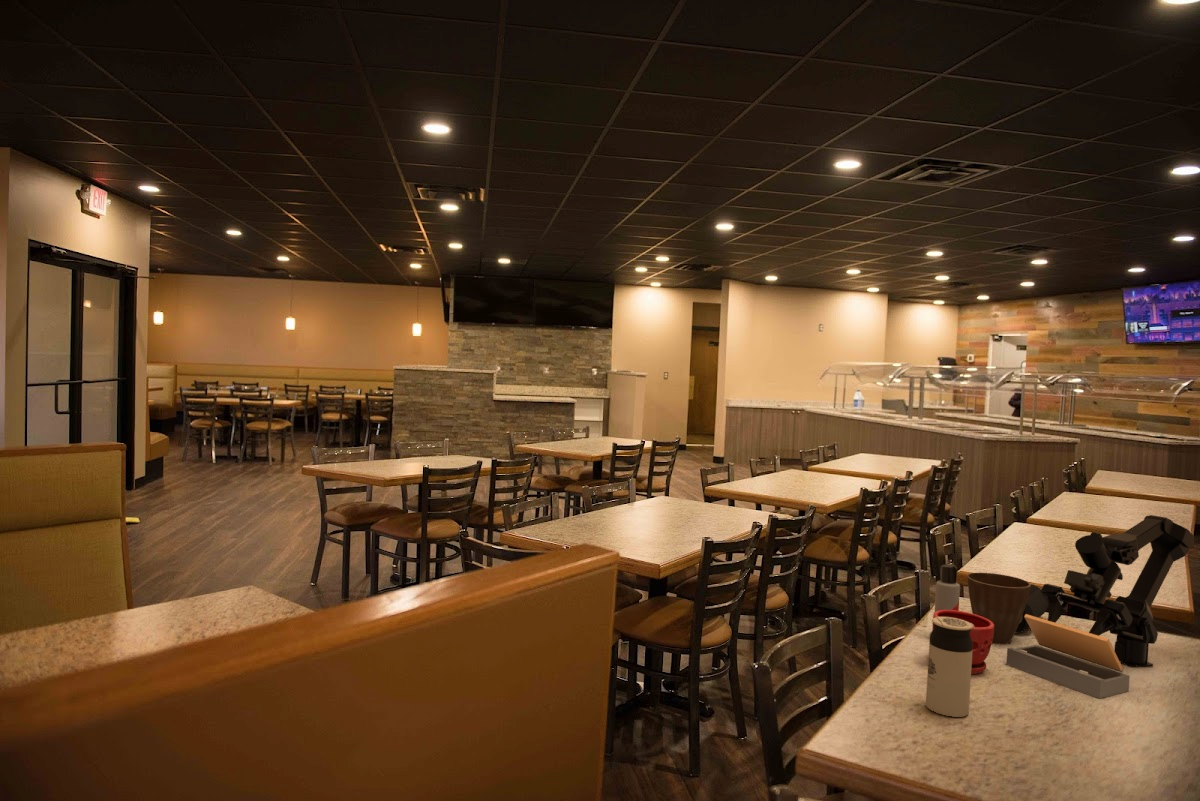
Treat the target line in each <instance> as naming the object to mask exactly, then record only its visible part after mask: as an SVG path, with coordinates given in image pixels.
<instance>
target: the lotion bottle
mask: <svg viewBox="0 0 1200 801" xmlns="http://www.w3.org/2000/svg"><path fill="white" fill-rule="evenodd" d="M957 576H958V567H957V566H956V564H952V563H944V564H942V565H941V566H940V580H937V581H936V584H935V597H934V598H935V599H934V600H935V601H934V612H933V614H934V613H935V612H936V611H939V610H956V611H960V610H959V608H960V594H961V593H960V592H961V585H960V583H958V582H957Z"/></svg>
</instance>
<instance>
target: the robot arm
mask: <svg viewBox="0 0 1200 801" xmlns="http://www.w3.org/2000/svg"><path fill="white" fill-rule="evenodd" d="M1148 544H1150V547H1151V553H1150V554H1149V557H1148V558H1147V561H1146V563H1145V564H1144V566H1143V568H1142V570H1141V572H1140V574H1139V576H1138V577H1137V579H1136V581H1135V583H1134V585H1133V587H1132V589H1131V591H1130V593H1129V594H1128V595H1127V596H1122V595H1119V596H1117V597H1116V599H1115V600H1113V599H1110V598H1111V597H1112V596H1113V595H1112V592H1111V590H1112V588H1113V587H1114V585H1115V582H1117V580H1119V581H1123V579H1124V578H1123V577H1124V576H1123V573H1122V568H1120V566H1119V564H1121V565H1125V566H1130V565H1132V564H1134V562H1135V561H1136V560H1137V559H1139V556H1140V555H1139V552H1140V550H1141V549H1142V548H1144V547H1146V546H1147V545H1148ZM1194 544H1195V536H1194V534H1192V532H1191V531H1190V530H1189V529H1188V528H1186V527H1184V526H1182V525H1180V524H1178V523H1176V522H1174V521H1173V520H1172V519H1170V518H1169V517H1164V516H1161V515H1160V516H1159V515H1153V514H1149V515H1146V516H1145V517H1144V518H1143V520H1141V521H1140V522H1138V523H1137V524H1135V525H1134V526H1132V527H1130V528H1129V529H1127V530H1126V531H1124V532H1122V533H1118V534H1117V533H1115V534H1114V533H1113V534H1109V535H1105V536H1103V535H1102V533H1101V532H1095V531H1091V533H1090V534H1088V535H1084V536H1081V537H1080V538H1079V539H1077V540H1075V543H1074V547H1075V549H1076V551H1077V553H1078V554H1079V556H1080V558H1081V560H1082V562H1083V563H1084V565H1085V566H1086V567H1087V568H1089V569H1088V570H1087V572H1086V573H1083V572H1078V571H1075V570H1069V569H1067V571H1066V572H1067V573H1066V575H1065V578H1064V582H1063V583H1064V584H1065V585H1068V586H1069V587H1070V588H1069V590H1070V592H1071V593H1073V595H1071V594H1067V593H1066V592H1065V590H1064V588H1063V587H1062V586H1058V585H1054V584H1051V583H1044V584H1043V585H1042V587H1041V588H1040V589H1041V590H1040V592H1041V593H1042V595H1043V596H1044V598H1045V600H1046V601H1047V603H1048V614H1047V615H1048V616H1047V621H1051V622H1054V623H1057V622H1058V620H1060V619H1061V617H1062V616H1063V614H1064V613H1065V612H1066V610H1065V608H1066V607H1067V606H1068V605H1073V606H1077V607H1080V608H1083V609H1087V610H1091V611H1095V612H1098V617H1097V618H1096V620H1095V622H1094V623H1093V625H1092V626H1091V627H1090V630H1089V632H1088V633H1091V634H1094V635H1098V636H1101V635H1103V634H1106V633H1107V632H1109V633H1110V635H1111V634H1112V635H1116V639H1115V640H1116V641H1114V651H1115V653H1116V655H1117V657H1118V659H1119V661H1120V663H1121V664H1124V665H1127V666H1129V667H1153V666H1154V664H1153V663H1151V662H1148V661H1149V660H1148V658H1149V646H1150V645H1149V644H1151V645H1154V644H1156V642H1157V640H1158V636H1159V633H1158V631H1157V629H1156V627H1155V626H1154V623H1153V621H1154V617H1153V612H1152V609H1151V607H1152V605H1153V602H1154V601H1155V599H1156V598H1157V597H1156V596H1157V595H1158V593H1159V591H1160V589H1161V587H1162V586H1163V583H1164V581H1165V579H1166V578H1167V575H1168V574H1169V571H1170V569H1171V568H1172V566H1173V565H1174V564H1173V563H1174V562H1176V561H1178V560H1180V559H1183V558H1184V557H1186V555H1187V554H1188V553H1189V551H1190V550H1191V548H1193V547H1194ZM1106 598H1108V599H1106Z"/></svg>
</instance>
